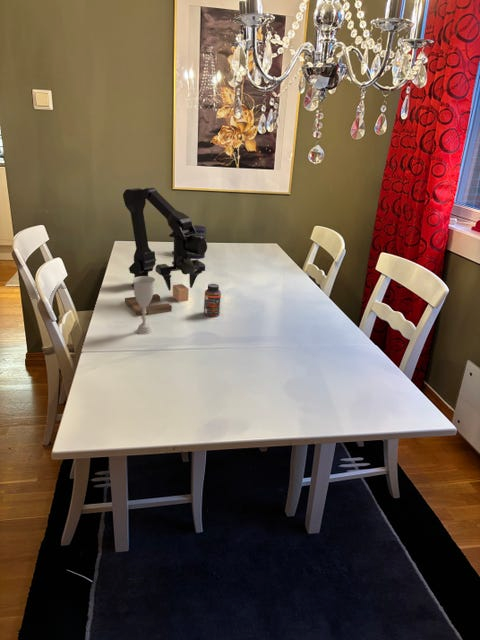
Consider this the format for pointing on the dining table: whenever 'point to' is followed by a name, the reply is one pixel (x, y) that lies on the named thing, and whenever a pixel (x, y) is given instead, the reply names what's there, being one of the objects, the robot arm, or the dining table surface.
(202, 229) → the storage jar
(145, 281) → the chalice
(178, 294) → the block
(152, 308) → the notched board
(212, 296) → the supplement bottle
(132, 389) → the dining table surface
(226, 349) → the dining table surface
